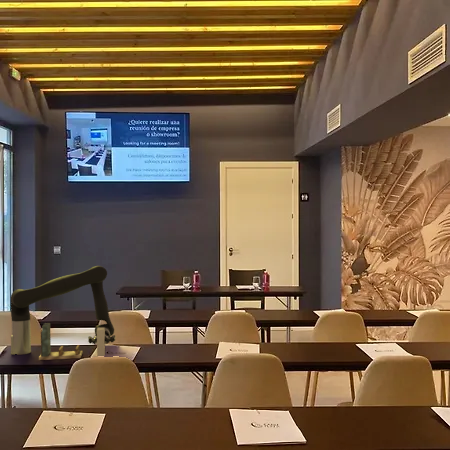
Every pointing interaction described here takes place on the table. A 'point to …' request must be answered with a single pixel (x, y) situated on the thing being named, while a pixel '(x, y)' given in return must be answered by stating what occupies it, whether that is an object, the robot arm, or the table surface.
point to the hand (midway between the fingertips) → (100, 342)
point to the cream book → (100, 341)
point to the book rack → (46, 347)
